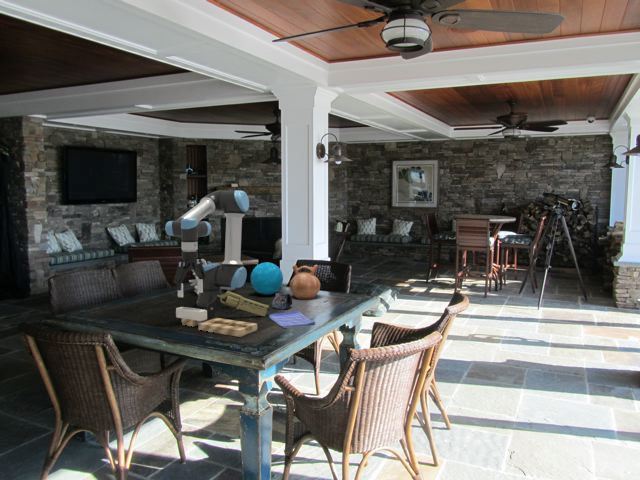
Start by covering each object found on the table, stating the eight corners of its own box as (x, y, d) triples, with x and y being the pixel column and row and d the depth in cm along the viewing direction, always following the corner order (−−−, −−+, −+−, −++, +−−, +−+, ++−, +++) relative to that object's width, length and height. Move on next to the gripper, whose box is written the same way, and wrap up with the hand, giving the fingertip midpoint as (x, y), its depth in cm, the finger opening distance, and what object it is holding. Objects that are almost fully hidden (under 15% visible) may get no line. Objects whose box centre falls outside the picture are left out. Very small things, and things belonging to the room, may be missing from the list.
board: (198, 330, 246) (198, 323, 246) (216, 323, 257) (216, 317, 257) (240, 336, 234) (240, 330, 234) (257, 330, 246) (257, 323, 245)
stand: (182, 325, 255) (182, 318, 255) (190, 322, 261) (190, 316, 260) (192, 326, 252) (192, 320, 252) (201, 323, 257) (201, 317, 257)
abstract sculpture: (240, 260, 347) (196, 249, 333) (247, 279, 329) (201, 269, 315) (228, 288, 356) (184, 279, 341) (234, 308, 337) (188, 300, 323)
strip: (176, 322, 258) (176, 307, 258) (182, 320, 262) (181, 306, 261) (201, 326, 251) (201, 311, 250) (207, 324, 254) (206, 309, 254)
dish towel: (299, 315, 277) (299, 309, 277) (316, 326, 255) (316, 320, 255) (267, 318, 270) (267, 312, 270) (282, 329, 248) (282, 323, 248)
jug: (322, 294, 327) (322, 262, 325) (317, 300, 309) (317, 267, 307) (293, 293, 330) (293, 262, 328) (286, 299, 313) (286, 266, 311)
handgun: (201, 315, 268) (212, 285, 268) (257, 333, 275) (268, 303, 275) (201, 317, 264) (213, 286, 263) (258, 335, 271) (270, 305, 271)
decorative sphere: (258, 290, 341) (257, 259, 339) (287, 292, 335) (287, 260, 333) (245, 296, 321) (245, 264, 320) (276, 298, 316) (276, 265, 314)
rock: (291, 305, 285) (283, 288, 287) (274, 314, 287) (267, 296, 289) (298, 305, 295) (290, 289, 297) (282, 313, 297) (275, 297, 300)
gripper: (176, 253, 240) (177, 299, 242) (213, 248, 262) (213, 291, 264) (164, 252, 244) (165, 298, 245) (201, 248, 266) (202, 289, 267)
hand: (190, 294), depth 255 cm, fingers open, 13 cm apart
